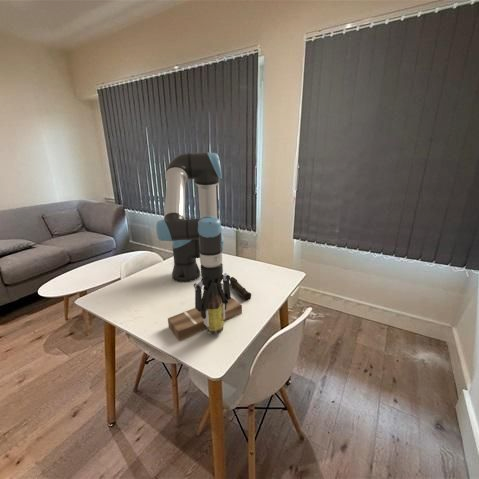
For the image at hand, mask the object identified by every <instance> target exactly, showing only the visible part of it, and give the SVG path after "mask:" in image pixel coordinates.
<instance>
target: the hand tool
mask: <svg viewBox="0 0 479 479" xmlns="http://www.w3.org/2000/svg"><path fill="white" fill-rule="evenodd" d="M229 284H230V287H231V288H232V289H234V290H235V291H236V292H237V293H238V295H239V296H241V297H242V298H243V302H247V301H249V300H251V299H252V292H249V291H248V290H247V289H246V288H245V287H244V286H242V285H241V283H239V282H238V280H237V278H235V277H234V276H230V280H229Z"/></svg>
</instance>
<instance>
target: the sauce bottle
mask: <svg viewBox="0 0 479 479" xmlns="http://www.w3.org/2000/svg"><path fill="white" fill-rule="evenodd" d="M217 286H218V285H217V283H214V284H213V287H212V291H211V293H210V296H209V300H208V304H207V308H206V309H207V310H208V314H209V327H207V329H206V331H207V333H208V334H209V335H213V336H214V335H220V334H221V333H222V332H223V330H224V322H223V308H222V299H221V296H220V295H219V294H218V288H217Z"/></svg>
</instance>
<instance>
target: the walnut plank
mask: <svg viewBox="0 0 479 479" xmlns="http://www.w3.org/2000/svg"><path fill="white" fill-rule="evenodd" d="M227 301H228V303H227V304H226V310H225V319H224V320H223V323H224V322H226V321H228V320H230V319H233V318H235V317H237V316H239V315H243V305H242V303H240V302H238V301H237V300H236V299H234V298H233V297H231V299H230V300H227ZM167 323H168V329H170V330H171V332H172V333H173V335H174V336H175V338H176V339H177V340H178V341H179V342H180V341H183V340H185V339H188V338H190V337H192V336H195V335H196V334H199V333H201V332H203V331H207V326H206V325H205V324H204V320H203V318H202V317H201V311H200V312H199V311H198V310H197V309H196V308H195V307H194V308H191V309H189V310H185V311H183V312H181V313H177V314H176V315H173V316H171V317H168V318H167Z"/></svg>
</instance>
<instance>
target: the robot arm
mask: <svg viewBox="0 0 479 479" xmlns="http://www.w3.org/2000/svg"><path fill="white" fill-rule="evenodd" d="M219 156H220V155H218V154H217V153H216V152H184V153H180V154H178V155H175V157H174V158H172V159H171V161H170V162H168V165H167V166H166V169H165V172H164V173H165V174H164V178H165V181H166V187H165V188H166V189H165V200H164V201H165V202H164V214H163V215H164V216H163V219H162V220H161V219H160V220H158V221H157V222H156V235H157V238H158V240H159V241H160V242H172V244H171V245H172V246H171V247H172V254H173V263H174V264H173V268H172V272H171V277H172V278H171V279H172V280H173V281H175V282H178V283H189V282H193V281H195V280H197V279H199V278H200V277H201V279H200V282H198V283H197V282H195V283H193V287H194V291H195V293H194V305H195V306H194V308H196V309H197V310H198V311H199V312H200V311H201V317H202V318H203V320H204V324H205V325H206V326H207V327H209V314H208V310H207V309H206V308H207V304H208V300H209V296H210V293H211V291H212V287H213V284H214V283H217V285H218V286H217V288H218V294H219V295H220V296H221V299H222V308H223V320H224V319H225V310H226V304H227V303H228V301H227V300H230V299H231V298H232V295H231V284H230V278H231V276H230V274H227V273H224V271H223V270H224V269H223V266H224V264H223V253H224V252H223V251H224V242H225V241H224V235H223V234H222V232H223V230H222V229H223V228H222V225H221V224H222V223H221V220H220V219H219V218H218V208H217V206H218V205H217V204H218V203H217V202H218V201H217V186H218V184H220V183H219V182H220V180H221V179H222V178H223V173H222V168H221V162H220V157H219ZM188 180H193V182H194V183H193V184H194V185H195V186H197V190H198V192H197V193H198V194H197V195H198V207H199V218H186V217H185V216H186V212H185V211H186V183H187V181H188ZM197 259H199V262H200V267H199V265H198V263H197ZM223 273H224V274H223ZM221 283H222V284H223V286H224V292H223V286H222V285H221ZM202 290H203V292H202Z"/></svg>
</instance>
